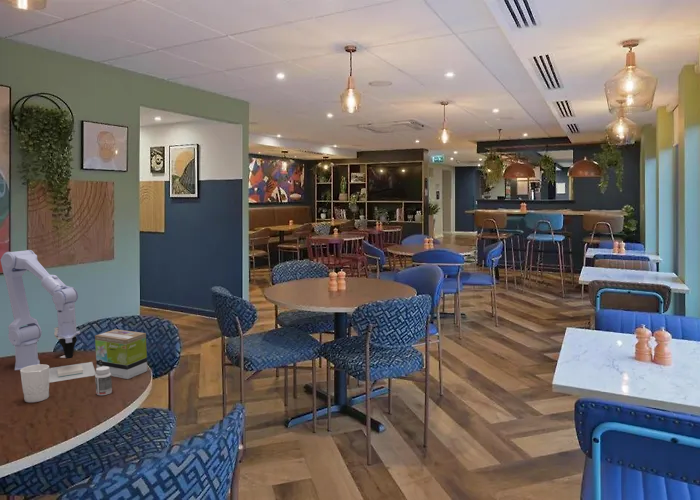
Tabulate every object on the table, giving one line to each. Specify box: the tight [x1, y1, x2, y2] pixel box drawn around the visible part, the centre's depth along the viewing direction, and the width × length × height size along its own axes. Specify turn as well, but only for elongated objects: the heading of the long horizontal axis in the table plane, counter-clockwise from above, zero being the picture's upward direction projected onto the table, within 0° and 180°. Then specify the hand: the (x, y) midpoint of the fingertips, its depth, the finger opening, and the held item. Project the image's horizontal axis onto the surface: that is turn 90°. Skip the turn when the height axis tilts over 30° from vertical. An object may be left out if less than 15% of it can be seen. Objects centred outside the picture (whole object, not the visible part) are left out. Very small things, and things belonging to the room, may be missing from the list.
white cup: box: [19, 363, 50, 403], centre depth 169 cm, size 8×8×10 cm
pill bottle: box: [94, 366, 113, 396], centre depth 173 cm, size 5×5×8 cm
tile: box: [57, 365, 83, 377], centre depth 193 cm, size 1×8×7 cm
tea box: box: [94, 328, 148, 380], centre depth 193 cm, size 15×10×15 cm, turn 68°
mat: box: [49, 361, 96, 384], centre depth 194 cm, size 18×16×1 cm
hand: (69, 357), depth 194 cm, fingers closed
